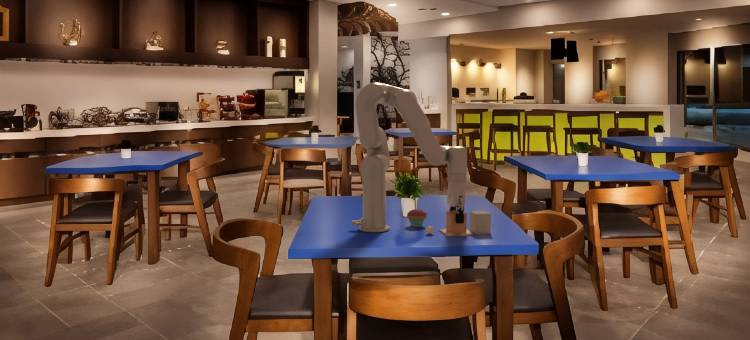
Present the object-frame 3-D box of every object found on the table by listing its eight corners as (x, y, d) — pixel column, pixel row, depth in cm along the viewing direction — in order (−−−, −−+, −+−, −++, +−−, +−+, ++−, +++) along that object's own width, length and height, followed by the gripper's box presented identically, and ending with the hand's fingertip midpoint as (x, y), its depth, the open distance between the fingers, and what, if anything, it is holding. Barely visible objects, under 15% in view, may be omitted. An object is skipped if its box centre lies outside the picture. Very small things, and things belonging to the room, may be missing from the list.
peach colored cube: (450, 233, 242) (451, 213, 241) (446, 230, 248) (446, 210, 247) (466, 232, 243) (466, 212, 242) (461, 229, 249) (461, 210, 248)
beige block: (475, 234, 244) (475, 214, 243) (470, 230, 250) (470, 211, 249) (490, 233, 245) (490, 213, 244) (484, 230, 251) (485, 210, 250)
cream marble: (426, 235, 242) (426, 227, 242) (424, 233, 245) (424, 225, 245) (434, 234, 242) (434, 226, 242) (432, 233, 246) (432, 225, 245)
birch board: (447, 236, 239) (447, 234, 239) (439, 230, 250) (439, 229, 250) (474, 235, 241) (474, 233, 241) (465, 229, 252) (465, 228, 252)
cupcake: (403, 224, 262) (403, 197, 261) (421, 223, 266) (421, 195, 264) (412, 228, 255) (412, 200, 253) (430, 227, 258) (430, 198, 257)
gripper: (441, 175, 251) (441, 217, 253) (454, 180, 234) (454, 225, 236) (459, 174, 252) (458, 217, 254) (473, 179, 235) (472, 225, 237)
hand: (456, 220), depth 245 cm, fingers open, 7 cm apart
